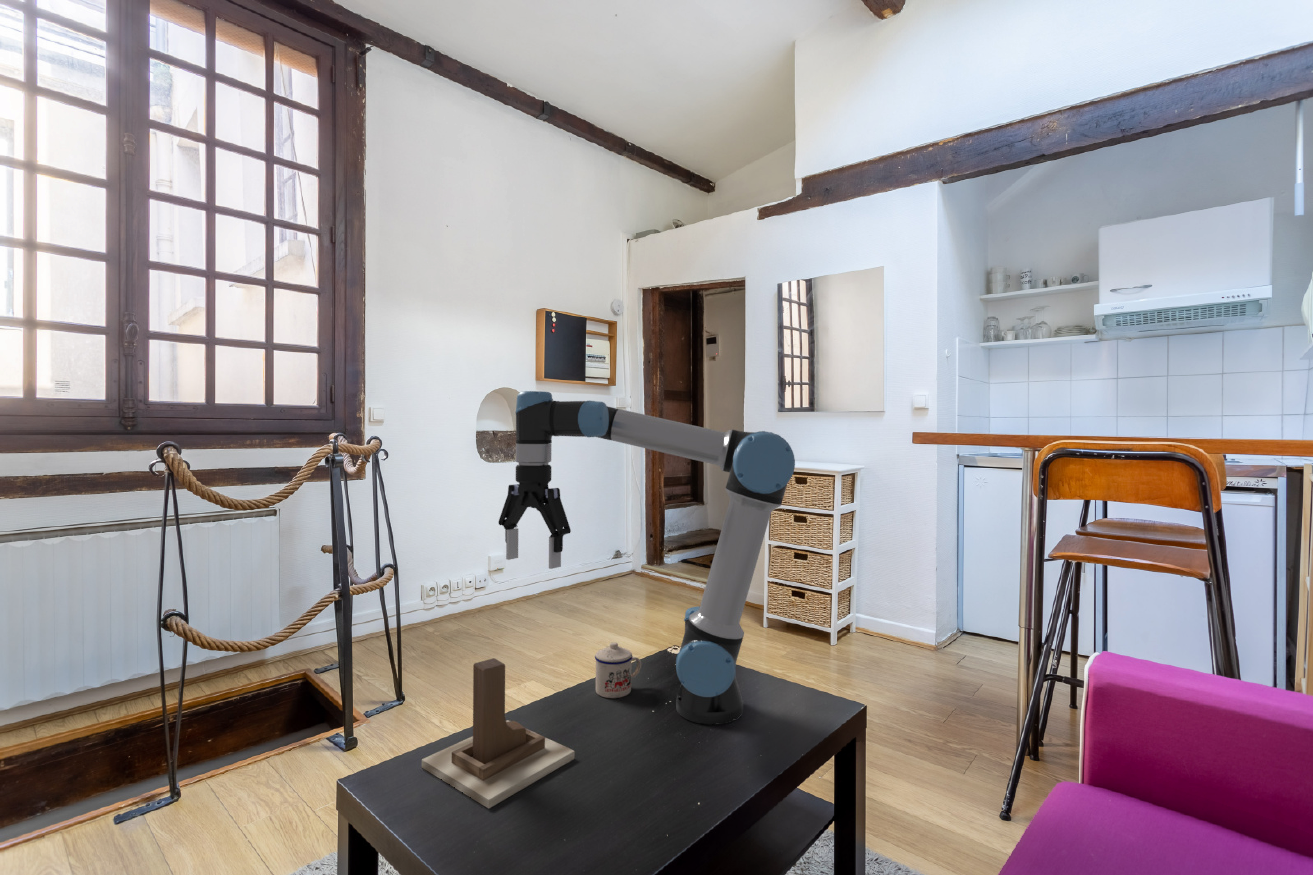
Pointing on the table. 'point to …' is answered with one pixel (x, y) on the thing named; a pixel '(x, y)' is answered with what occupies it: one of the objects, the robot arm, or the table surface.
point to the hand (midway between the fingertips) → (532, 563)
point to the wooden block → (492, 714)
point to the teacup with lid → (614, 671)
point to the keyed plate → (497, 768)
